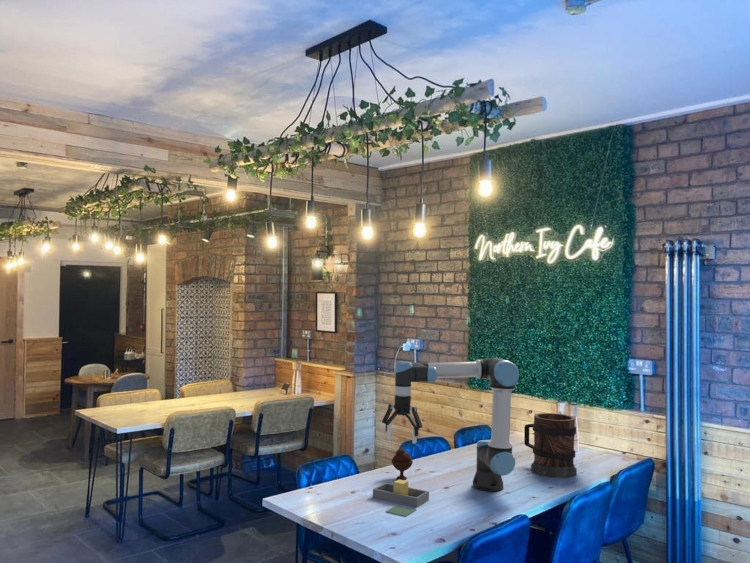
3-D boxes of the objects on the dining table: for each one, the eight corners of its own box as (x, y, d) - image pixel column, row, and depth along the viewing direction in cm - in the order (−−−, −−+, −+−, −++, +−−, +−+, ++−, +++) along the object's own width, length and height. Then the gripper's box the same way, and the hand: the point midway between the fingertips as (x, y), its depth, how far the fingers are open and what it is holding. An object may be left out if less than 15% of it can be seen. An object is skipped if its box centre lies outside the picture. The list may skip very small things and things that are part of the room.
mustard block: (408, 498, 286) (408, 481, 286) (402, 501, 282) (403, 483, 282) (398, 496, 289) (398, 479, 289) (393, 499, 285) (393, 481, 285)
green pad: (416, 511, 271) (416, 509, 271) (405, 517, 262) (405, 516, 262) (396, 506, 276) (396, 504, 276) (385, 513, 268) (385, 511, 268)
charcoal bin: (428, 501, 285) (429, 491, 285) (416, 508, 274) (417, 498, 274) (385, 492, 296) (385, 482, 297) (372, 498, 286) (372, 489, 286)
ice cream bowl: (387, 479, 317) (388, 450, 317) (397, 474, 327) (397, 445, 327) (406, 483, 312) (407, 453, 312) (415, 477, 322) (416, 448, 322)
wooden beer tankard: (562, 480, 322) (563, 423, 323) (513, 468, 343) (514, 414, 344) (584, 472, 339) (584, 417, 339) (536, 461, 360) (537, 409, 360)
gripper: (430, 396, 284) (429, 443, 283) (384, 391, 297) (382, 435, 297) (422, 398, 278) (421, 446, 277) (375, 393, 291) (374, 438, 290)
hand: (401, 440), depth 287 cm, fingers open, 13 cm apart
